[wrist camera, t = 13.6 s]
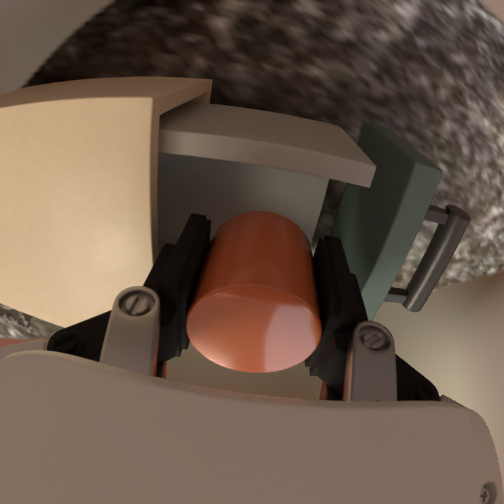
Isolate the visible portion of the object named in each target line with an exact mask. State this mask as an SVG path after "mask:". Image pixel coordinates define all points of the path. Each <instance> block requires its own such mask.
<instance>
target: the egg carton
mask: <svg viewBox="0 0 504 504" xmlns="http://www.w3.org/2000/svg"><path fill="white" fill-rule="evenodd" d="M0 318H1V319H3V320H6V321H7V322H8V323H9V324H11V325H14V326H17V327H21V328H24V330H26V331H27V332H29V333H30V334H31V331H32V327H31V326H32V324H33V322H34V321H35V319H36V317H34V316H31V315H28V314H26V313H23V312H21V311H18V310H16V309H13V308H11V307H8V306H6V305H3V304H1V303H0ZM31 335H32V334H31Z"/></svg>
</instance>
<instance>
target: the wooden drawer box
mask: <svg viewBox="0 0 504 504" xmlns="http://www.w3.org/2000/svg"><path fill="white" fill-rule="evenodd" d="M211 89H212V79H199V78H182V77H111V78H95V79H83V80H73V81H64V82H56V83H49V84H42V85H36V86H30V87H25V88H22V89H19V90H15V91H12V92H9V93H6V94H3V95H0V303H1V304H3V305H6V306H8V307H11V308H13V309H16V310H18V311H21V312H23V313H26V314H28V315H31V316H34V317H36V318H39V319H42V320H45V321H47V322H50V323H53V324H56V325H59V326H62V327H65V328H66V327H69V326H72V325H74V324H77V323H79V322H82V321H84V320H87V319H89V318H92V317H94V316H97V315H100V314H102V313H105V312H107V311H110V310H112V307H113V303H114V300H115V298H116V296H117V295H118V294H119V293H120V292H121V291H123V290H124V289H126V288H129V287H133V286H143V284H144V282H145V280H146V278H147V276H148V274H149V273H150V271H151V269H152V267H153V265H154V263H155V261H156V259H157V257H158V255H159V247H158V209H157V174H158V138H159V118H160V115H161V114H163V113H165V112H167V111H169V110H171V109H173V108H175V107H177V106H180V105H182V104H184V103H186V102H197V103H208V104H210V97H211Z"/></svg>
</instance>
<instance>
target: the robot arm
mask: <svg viewBox="0 0 504 504" xmlns="http://www.w3.org/2000/svg"><path fill="white" fill-rule="evenodd" d="M210 230H211V220H208V219H206V215H201V214H194V213H192V214H191V215H190V217H189V219H188V221H187V223H186V225H185V227H184V229H183V231H182V233H181V235H180V237H179V239H178V241H177V243H176V245H174V244H168V243H166V244H165V245H164V246H163V248H162V250H161V251H160V253H159V255H158V257H157V259H156V261H155V263H154V265H153V267H152V269H151V271H150V273H149V274H148V276H147V278H146V280H145V282H144V284H143V286H133V287H129V288H126V289H124V290H123V291H121V292H120V293H119V294H118V295H117V296H116V298H115V300H114V303H113V307H112V310H110V311H107V312H105V313H102V314H100V315H97V316H94V317H92V318H89V319H87V320H84V321H82V322H79V323H77V324H74V325H72V326H69V327H66V328H64V329H61V330H59V331H58V332H56V333H55V334H54V335H53V336H52V337H51V338H50V340H49V341H46V342H45V341H44V339H38V340H33V341H28V342H23V343H18V344H13V345H8V346H2V347H0V504H504V493H503V485H502V479H501V472H500V468H499V463H498V458H497V454H496V450H495V446H494V443H493V440H492V437H491V434H490V431H489V429H488V427H487V425H486V423H485V421H484V420H483V418H482V417H481V416H480V415H479V414H478V413H476V412H475V411H473V410H471V409H469V408H467V407H464V406H463V405H461V404H459V403H457V402H456V401H454V400H452V399H450V398H448V397H447V396H445V395H442V396H441V397H439V394H438V391H437V389H436V387H435V386H434V385H433V384H432V383H431V382H430V381H429V380H428V379H426V378H425V377H424V376H423V375H421V374H420V373H419V372H418V371H416V370H415V369H414V368H413V367H411V366H410V365H409V364H408V363H406V362H405V361H404V360H403V359H401V358H400V357H399V356H398V355H396V354H395V346H394V339H393V336H392V334H391V333H390V331H389V330H388V329H387V328H386V327H384V326H383V325H381V324H380V323H377V322H374V321H369V320H368V316H367V312H366V309H365V305H364V301H363V298H362V294H361V291H360V287H359V284H358V280H357V277H356V275H355V274H354V273H350V269H349V266H348V262H347V259H346V255H345V252H344V249H343V245H342V242H341V239H340V238H338V237H333V236H327V235H326V236H325V237H324V239H323V238H320V239H319V241H318V244H317V247H316V250H315V254H314V257H313V261H314V268H315V275H316V282H317V290H318V297H319V305H320V313H321V321H322V337H321V340H320V343H319V345H318V347H317V349H316V350H315V351H314V352H313V354H311V355H310V356H309V357H308V358H307V359H306V360H305V366H306V367H310V376H318V377H319V378H320V379H321V380H322V381H323V383H322V388H321V394H320V400H310V399H296V398H285V397H274V396H265V395H256V394H248V393H241V392H234V391H227V390H221V389H215V388H209V387H203V386H198V385H192V384H187V383H182V382H177V381H172V380H168V379H166V364H167V362H166V361H167V360H170V359H171V358H173V357H175V356H177V357H180V355H181V351H182V349H186V350H187V349H188V346H189V342H190V340H189V338H188V335H187V332H186V315H187V311H188V308H189V305H190V302H191V299H192V296H193V292H194V289H195V286H196V283H197V280H198V277H199V274H200V271H201V268H202V265H203V262H204V258H205V255H206V252H207V249H208V246H209V243H210Z"/></svg>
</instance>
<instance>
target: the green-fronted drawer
mask: <svg viewBox="0 0 504 504" xmlns="http://www.w3.org/2000/svg"><path fill="white" fill-rule="evenodd" d="M441 174H442V170H441V169H440V168H439V167H438V166H437V165H435V164H434V163H433V162H432V161H430V160H429V159H428V158H426V157H425V156H424V155H423V154H421V153H420V152H419V151H417V150H416V149H415V148H413V147H412V146H410V145H409V144H408V143H406V142H405V141H404V140H402V139H401V138H399V137H398V136H396V135H395V134H394V133H392V132H391V131H389V130H388V129H386V128H385V127H383V126H380V125H377V124H374V123H371V122H367V121H364V122H363V125H362V129H361V133H360V137H359V141H358V144H356V143H355V142H354V141H353V140H352V139H351V138H350V137H349V136H348V134H347V133H346V132H345V131H344V130H343V129H341V128H340V127H339V126H337V125H333V124H328V123H324V122H320V121H315V120H311V119H306V118H301V117H296V116H291V115H286V114H280V113H274V112H268V111H262V110H256V109H249V108H242V107H234V106H226V105H217V104H208V103H197V102H186V103H184V104H182V105H180V106H177V107H175V108H173V109H171V110H169V111H167V112H165V113H163V114H161V115H160V118H159V138H158V174H157V209H158V247H159V253H160V251H161V250H162V248H163V246H164V245H165V244H166V243H168V244H174V245H176V243H177V241H178V239H179V237H180V235H181V233H182V231H183V229H184V227H185V225H186V223H187V221H188V219H189V217H190V215H191V214H192V213H194V214H201V215H206V219H208V220H211V230H210V241H211V238H212V236H213V234H214V233H215V231H216V230H217V229H218V228H219V226H220V225H221V224H223V223H224V222H225V221H227V220H228V219H230V218H232V217H234V216H236V215H238V214H242V213H245V212H251V211H267V212H272V213H276V214H279V215H282V216H284V217H286V218H288V219H290V220H291V221H293V222H294V223H296V224H297V225H298V226H299V227H300V228H301V229H302V230H303V231H304V233H305V234H306V236H307V237H308V239H309V241H310V244H311V243H312V240H313V236H314V233H315V230H316V226H317V223H318V220H319V216H320V213H321V209H322V206H323V202H324V199H325V195H326V191H327V188H328V184H329V180H330V179H333V180H338V181H342V182H347V183H346V187H345V190H344V193H343V197H342V200H341V203H340V206H339V210H338V213H337V216H336V219H335V222H334V225H333V228H332V231H331V235H330V236H333V237H338V238H340V239H341V242H342V245H343V249H344V252H345V255H346V259H347V262H348V266H349V269H350V273H354V274H355V275H356V277H357V280H358V284H359V287H360V291H361V294H362V298H363V301H364V305H365V309H366V312H367V316H368V320H369V321H372V320H373V318H374V316H375V315H376V313H377V311H378V310H379V308H380V306H381V304H382V303H383V301H388V302H396V303H402V305H403V306H404V307H405V308H406V309H408V310H409V311H411V312H418V311H420V310H421V309H422V307H423V305H424V304H425V302H426V301H427V299H428V297H429V296H430V294H431V293H432V291H433V289H434V288H435V286H436V284H437V283H438V281H439V279H440V277H441V276H442V274H443V272H444V270H445V269H446V267H447V265H448V263H449V261H450V260H451V258H452V256H453V254H454V252H455V250H456V248H457V246H458V244H459V242H460V240H461V238H462V236H463V234H464V232H465V230H466V228H467V226H468V224H469V222H470V216H469V215H468V214H467V213H466V212H465V211H463V210H462V209H460V208H458V207H456V206H454V205H447V206H446V208H445V209H442V208H439V207H436V206H433V205H430V203H431V200H432V198H433V195H434V193H435V190H436V188H437V185H438V182H439V180H440V177H441ZM423 219H424V220H428V221H431V222H435V223H439V224H438V227H437V229H436V231H435V233H434V235H433V237H432V239H431V241H430V244H429V246H428V248H427V250H426V252H425V254H424V256H423V258H422V260H421V262H420V263H419V265H418V267H417V269H416V271H415V273H414V275H413V277H412V279H411V280H410V282H409V284H408V286H407V288H406V289H401V288H394V287H391V286H392V284H393V282H394V280H395V278H396V277H397V275H398V273H399V271H400V269H401V267H402V265H403V263H404V261H405V259H406V257H407V254H408V252H409V250H410V248H411V246H412V244H413V242H414V240H415V237H416V235H417V233H418V231H419V229H420V226H421V224H422V222H423ZM209 244H210V243H209Z"/></svg>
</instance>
